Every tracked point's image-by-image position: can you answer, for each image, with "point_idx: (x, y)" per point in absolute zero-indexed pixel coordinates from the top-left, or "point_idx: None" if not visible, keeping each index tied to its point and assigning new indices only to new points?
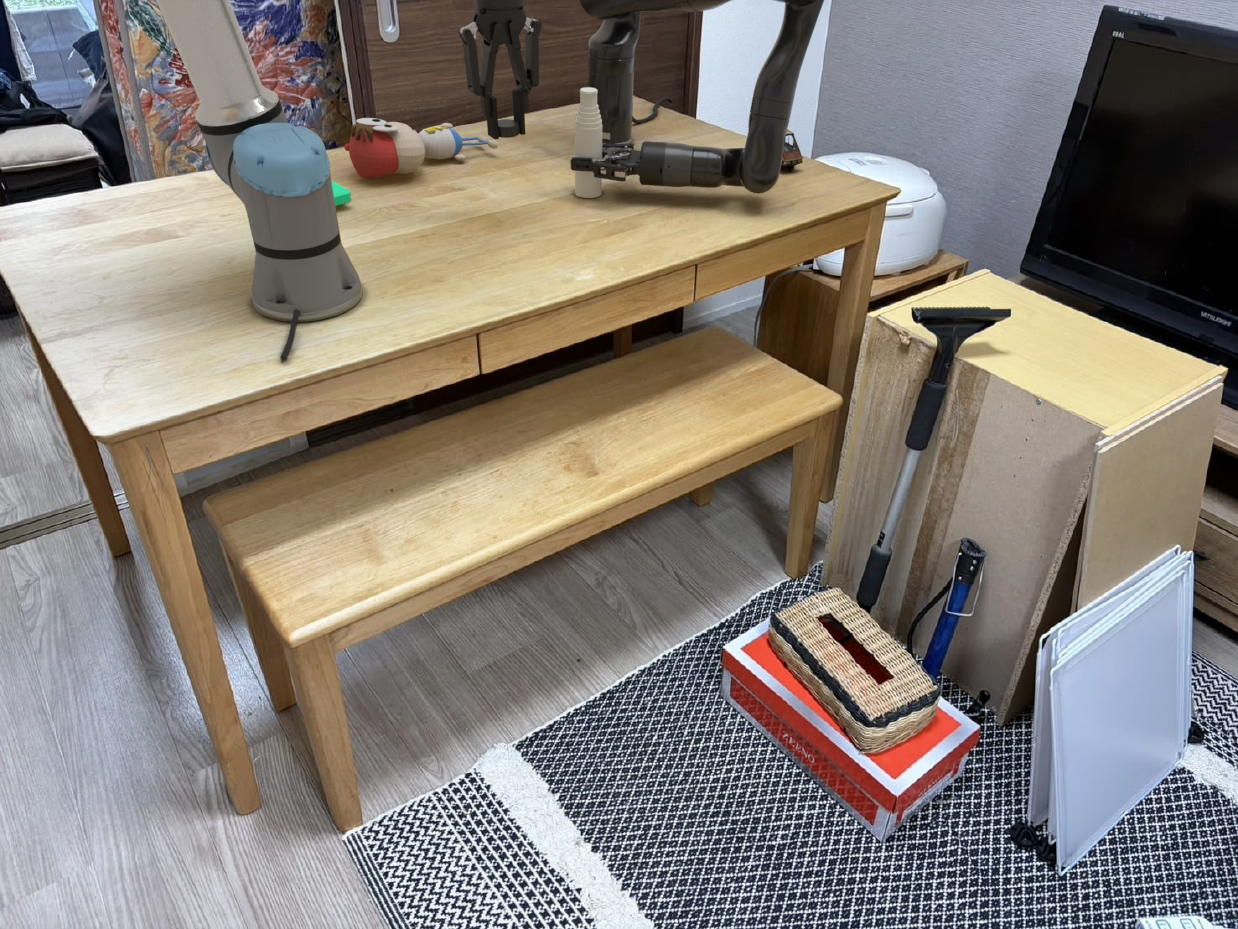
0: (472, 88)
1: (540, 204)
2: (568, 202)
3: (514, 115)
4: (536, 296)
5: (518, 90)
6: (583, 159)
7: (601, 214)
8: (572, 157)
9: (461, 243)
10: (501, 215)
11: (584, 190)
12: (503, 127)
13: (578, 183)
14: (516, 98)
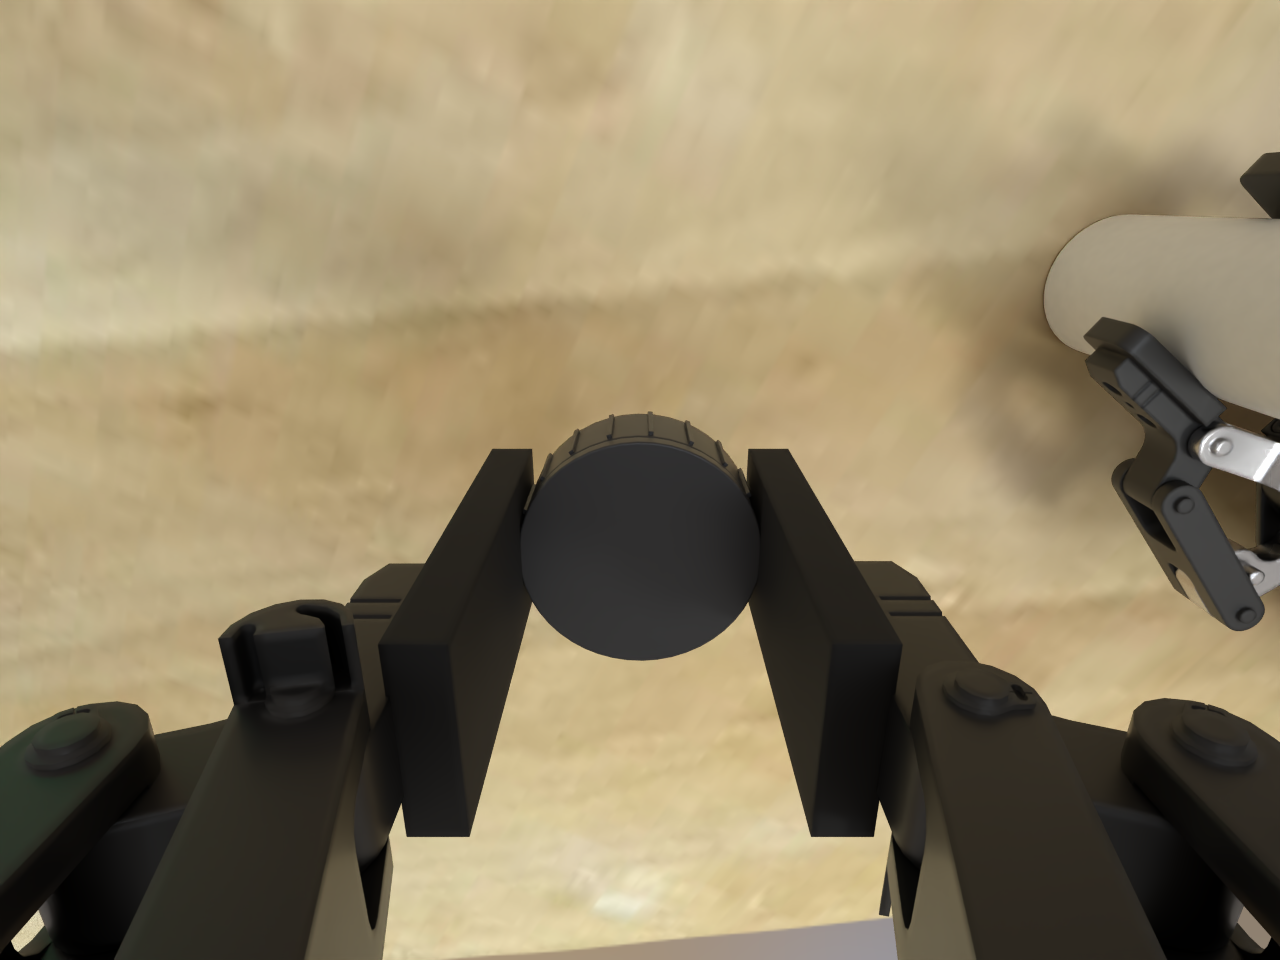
0: (39, 908)
1: (825, 306)
2: (954, 346)
3: (769, 522)
4: (441, 935)
5: (892, 717)
6: (1172, 395)
7: (985, 532)
8: (1145, 330)
9: (333, 537)
10: (596, 346)
11: (1075, 339)
12: (571, 637)
13: (1080, 313)
14: (802, 703)
